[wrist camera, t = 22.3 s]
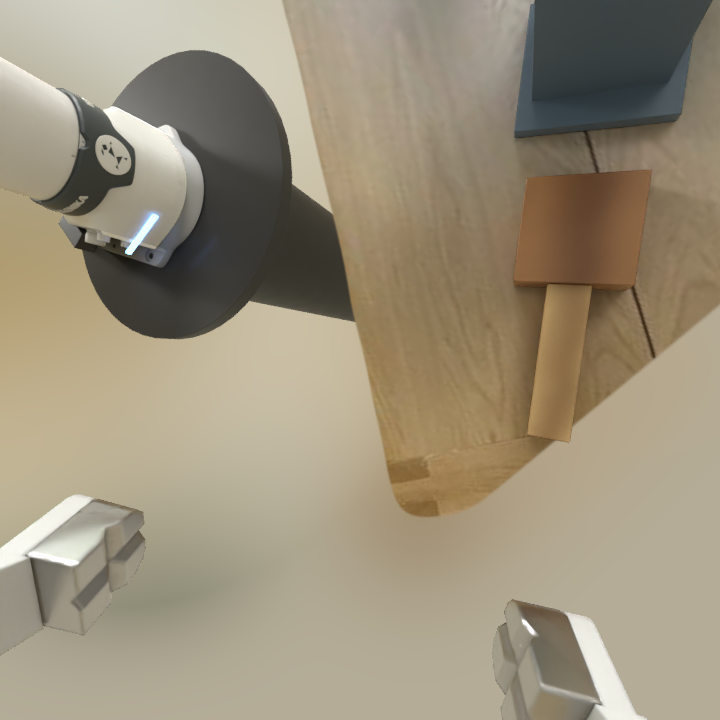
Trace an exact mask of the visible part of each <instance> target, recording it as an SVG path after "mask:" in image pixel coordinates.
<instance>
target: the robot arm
mask: <svg viewBox="0 0 720 720" xmlns="http://www.w3.org/2000/svg"><path fill="white" fill-rule="evenodd" d="M0 188H1V189H4V190H8V191H11V192H14V193H17V194H21V195H24V196H27V197H30V198H31V199H32V200H33V201H34V202H36V203H37V204H40V205H42V206H44V207H45V208H47V209H50V210H52V211H55V212H60V213H62V214H63V217H62V218H61V220H60V222H59V225H60V226H61V228H62V229H63V231H64V232H65V234H66V236H67V237H68V239H69V240H70V242H71V243H72V245H73V246H74V248H78V249H82V250H86V251H90V252H94V250H95V249H96V247H98V248H101V249H104V250H107V251H110V252H113V253H116V254H119V255H122V256H125V257H128V258H131V259H134V260H137V261H140V262H143V263H147V264H150V265H153V266H156V267H159V268H162V267H164V266H165V265H166V264H167V262H168V260H169V259H170V257H171V255H172V253H173V251H174V250H175V249H176V248H177V247H178V246H179V245H180V244H181V243H182V242H184V241H185V240H186V238H187V237H188V236H189V235H190V233H191V232H192V230H193V229H194V227H195V225H196V223H197V221H198V218H199V216H200V213H201V209H202V204H203V198H204V181H203V175H202V171H201V167H200V165H199V163H198V161H197V159H196V157H195V156H194V155H193V153H192V152H191V151H190V150H188V149H187V148H186V147H185V146H184V145H183V144H182V142H181V140H180V137H179V135H178V133H177V131H176V130H175V129H174V128H173V127H171V126H169V125H163V126H161V127H159V128H155V127H153V126H151V125H150V124H148V123H146V122H144V121H142V120H140V119H138V118H136V117H134V116H132V115H131V114H129V113H127V112H125V111H123V110H121V109H119V108H116V107H110V108H107V109H104V110H101V109H100V108H98V107H96V106H94V105H93V104H91V103H90V102H89V101H88V100H86V99H84V98H83V97H81V96H79V95H75V94H73V93H71V92H69V91H67V90H65V89H62V88H54V87H52V86H50V85H49V84H47V83H45V82H43V81H42V80H40V79H38V78H36V77H35V76H33V75H31V74H29V73H27V72H26V71H24V70H22V69H21V68H19V67H17V66H15V65H14V64H12V63H10V62H8V61H6V60H5V59H3V58H1V57H0ZM143 525H144V516H143V512H142V511H139V510H137V509H133V508H129V507H125V506H122V505H118V504H114V503H111V502H107V501H104V500H100V499H95V498H91V497H88V496H84V495H80V494H77V495H74V496H70V497H68V498H67V499H66V500H64V501H63V502H61V503H60V504H59V505H58V506H56V507H55V508H53V509H52V510H51V511H49V512H48V513H47V514H46V515H44V516H43V517H41V518H40V519H39V520H37V521H36V522H35V523H33V524H32V525H31V526H30V527H28V528H27V529H25V530H24V531H23V532H21V533H20V534H19V535H17V536H16V537H15V538H13V539H12V540H11V541H9V542H8V543H7V544H5V545H4V546H3V547H1V548H0V656H1V655H2V654H4V653H5V652H7V651H9V650H10V649H12V648H13V647H15V646H17V645H18V644H20V643H21V642H23V641H25V640H26V639H28V638H30V637H31V636H33V635H34V634H36V633H37V632H39V631H41V630H42V629H43V626H46V627H50V628H54V629H58V630H63V631H67V632H71V633H75V634H79V635H85V634H86V633H87V631H88V630H89V629H90V628H91V627H92V625H93V624H94V623H95V622H96V621H97V619H98V618H99V617H100V616H101V615H102V613H103V612H104V611H105V609H107V607H108V606H109V605H110V601H111V593H112V592H114V591H115V590H117V589H119V588H121V587H123V586H125V585H126V584H127V583H128V582H129V581H130V579H131V578H132V577H133V576H134V574H135V573H136V571H137V570H138V567H139V566H140V564H141V562H142V560H143V557H144V552H145V538H144V537H143V536H142V534H141V533H140V531H139V529H140V528H141V527H142V526H143ZM504 614H505V618H506V623H504V624H502V625H500V626H498V628H497V631H496V634H495V637H494V643H493V667H494V673H495V679H496V682H497V684H498V685H499V687H500V688H501V689H502V691H503V692H504V694H505V695H506V696H505V699H504V701H503V703H502V706H501V714H502V719H503V720H647V718H645V717H642V716H638V715H637V714H636V712H635V710H634V708H633V706H632V704H631V702H630V699H629V697H628V695H627V693H626V691H625V689H624V687H623V684H622V682H621V680H620V678H619V676H618V674H617V671H616V669H615V667H614V665H613V663H612V661H611V659H610V656H609V654H608V652H607V650H606V648H605V646H604V644H603V641H602V639H601V637H600V635H599V633H598V631H597V628H596V626H595V624H594V623H593V622H592V621H591V619H590V618H589V617H585V616H580V615H576V614H572V613H568V612H564V611H560V610H556V609H552V608H547V607H543V606H539V605H535V604H530V603H525V602H521V601H517V600H511V601H510V602H508V604H507V606H506V608H505V611H504Z"/></svg>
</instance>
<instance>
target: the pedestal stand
mask: <svg viewBox="0 0 720 720" xmlns="http://www.w3.org/2000/svg"><path fill="white" fill-rule="evenodd" d="M711 2H712V0H535V4H532V5H531V6H530V13H529V21H528V29H527V37H526V44H525V52H524V60H523V68H522V76H521V84H520V91H519V99H518V107H517V115H516V123H515V130H514V135H515V138H520V137H529V136H539V135H549V134H558V133H568V132H577V131H587V130H596V129H606V128H616V127H625V126H635V125H644V124H654V123H664V122H673V121H676V120H677V119H678V117H679V116H680V114H681V112H682V105H683V99H684V92H685V86H686V79H687V73H688V66H689V60H690V53H691V47H692V40H693V36H694V34H695V32H696V30H697V28H698V26H699V25H700V23H701V21H702V19H703V17H704V15H705V13H706V11H707V10H708V8H709V6H710V4H711Z"/></svg>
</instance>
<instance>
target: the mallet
mask: <svg viewBox="0 0 720 720" xmlns="http://www.w3.org/2000/svg"><path fill="white" fill-rule="evenodd" d="M651 173H652V170H636V171H621V172H605V173H590V174H575V175H559V176H544V177H528V178H527V179H526V187H525V194H524V202H523V210H522V217H521V225H520V233H519V240H518V248H517V256H516V263H515V271H514V278H513V282H514V286H524V287H547V288H546V295H545V302H544V309H543V317H542V324H541V331H540V339H539V346H538V353H537V361H536V368H535V375H534V383H533V390H532V397H531V405H530V412H529V419H528V427H527V434H528V435H531V436H536V437H541V438H547V439H552V440H558V441H563V442H570V438H571V431H572V424H573V417H574V410H575V403H576V396H577V389H578V382H579V375H580V368H581V361H582V354H583V347H584V340H585V333H586V326H587V319H588V313H589V306H590V299H591V292H592V289H597V290H622V291H626V290H627V289H629V288H631V287H632V286H634V285H635V280H636V273H637V266H638V260H639V253H640V246H641V240H642V233H643V226H644V220H645V213H646V206H647V200H648V193H649V186H650V180H651Z"/></svg>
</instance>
